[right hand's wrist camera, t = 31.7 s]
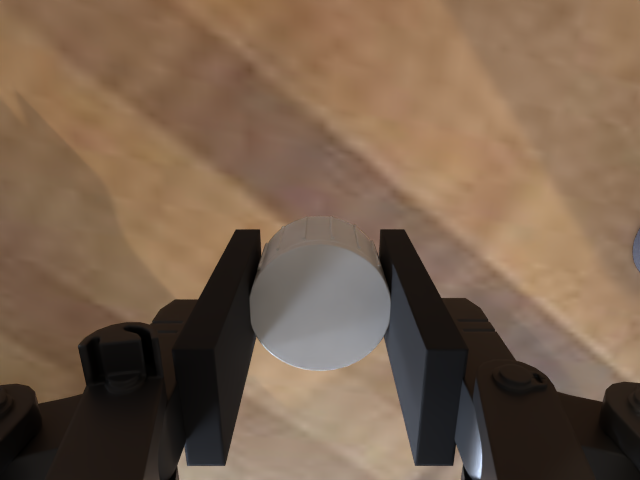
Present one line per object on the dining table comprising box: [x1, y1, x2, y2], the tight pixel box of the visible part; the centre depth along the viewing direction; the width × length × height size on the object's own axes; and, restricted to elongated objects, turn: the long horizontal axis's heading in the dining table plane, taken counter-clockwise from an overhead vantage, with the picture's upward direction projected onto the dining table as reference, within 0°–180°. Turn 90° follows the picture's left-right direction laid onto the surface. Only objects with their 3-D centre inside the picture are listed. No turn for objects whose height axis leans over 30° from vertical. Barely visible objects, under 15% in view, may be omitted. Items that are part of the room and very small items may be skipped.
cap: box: [249, 216, 391, 371], centre depth 13 cm, size 4×4×2 cm
